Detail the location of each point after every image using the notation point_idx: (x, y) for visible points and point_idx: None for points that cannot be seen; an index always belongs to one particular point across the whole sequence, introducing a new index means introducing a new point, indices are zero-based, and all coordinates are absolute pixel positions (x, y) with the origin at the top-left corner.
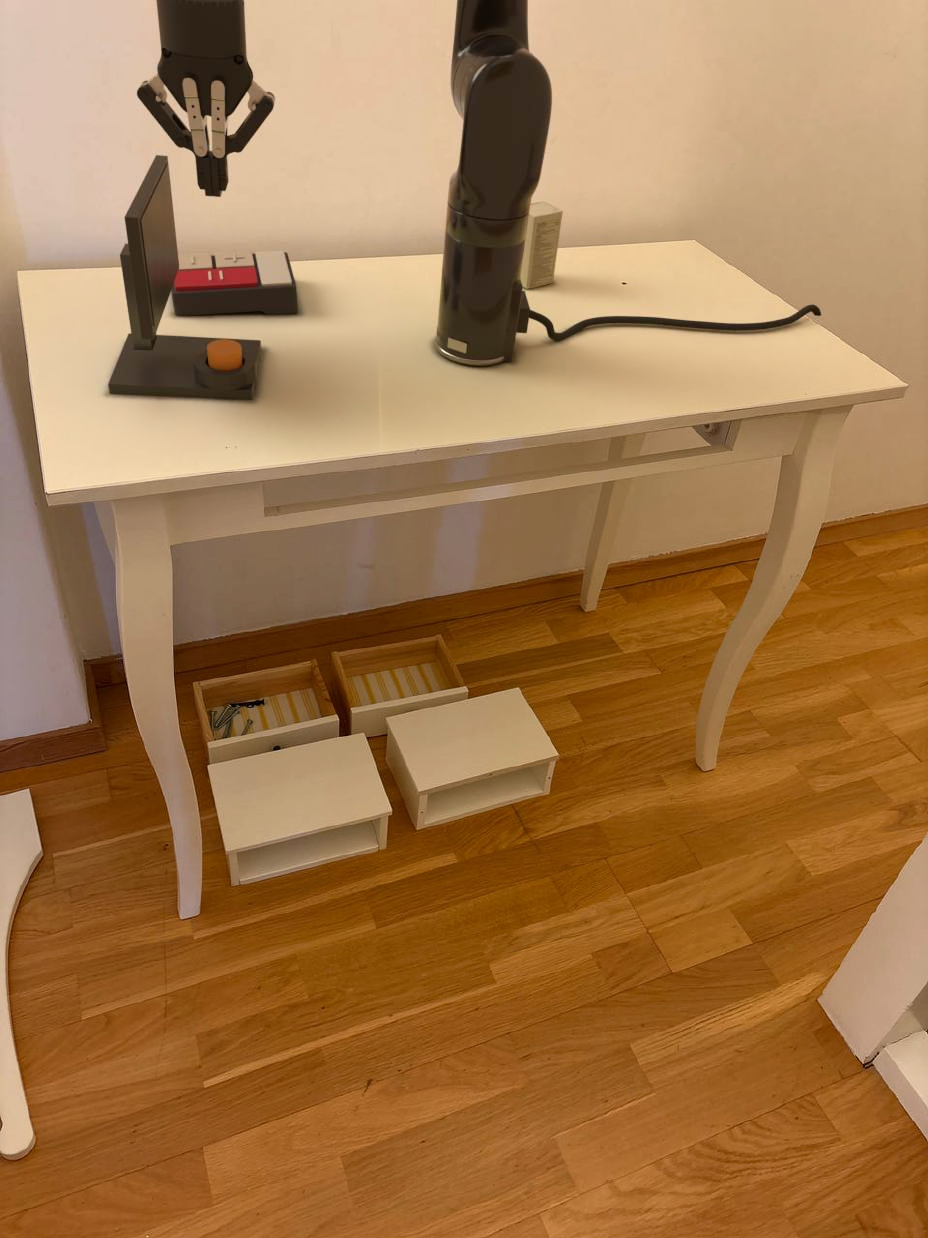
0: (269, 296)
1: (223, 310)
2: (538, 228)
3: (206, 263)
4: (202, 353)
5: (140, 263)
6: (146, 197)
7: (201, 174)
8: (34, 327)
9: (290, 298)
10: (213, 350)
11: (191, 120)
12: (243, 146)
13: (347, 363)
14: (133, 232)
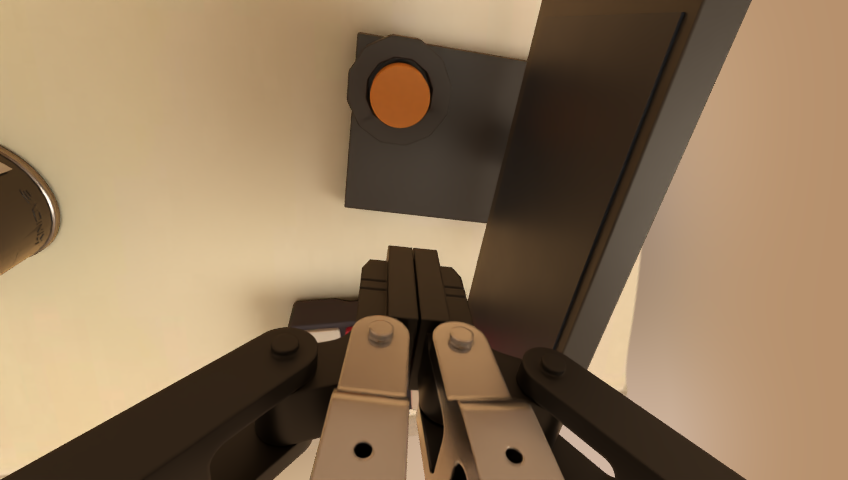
0: (330, 315)
1: None
2: None
3: None
4: (436, 122)
5: None
6: (630, 190)
7: (449, 293)
8: (639, 262)
9: (299, 314)
10: (419, 82)
11: (528, 434)
12: (250, 344)
13: (206, 155)
14: None
